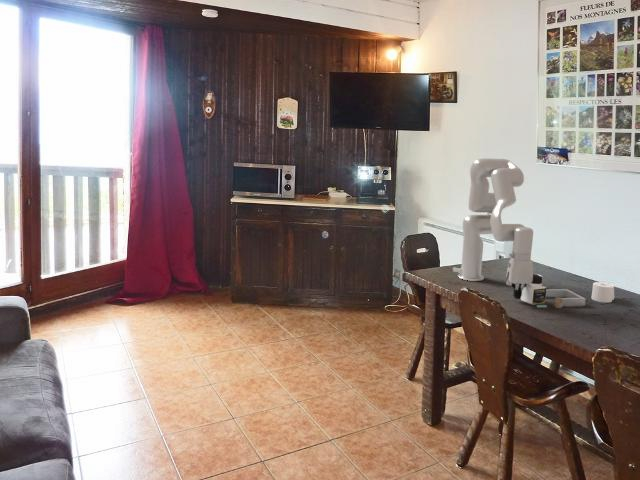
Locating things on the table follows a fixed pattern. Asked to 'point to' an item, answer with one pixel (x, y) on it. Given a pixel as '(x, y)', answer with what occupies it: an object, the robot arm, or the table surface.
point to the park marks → (541, 306)
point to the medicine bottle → (534, 291)
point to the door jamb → (558, 302)
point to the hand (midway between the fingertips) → (517, 298)
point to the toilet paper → (602, 292)
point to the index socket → (570, 296)
